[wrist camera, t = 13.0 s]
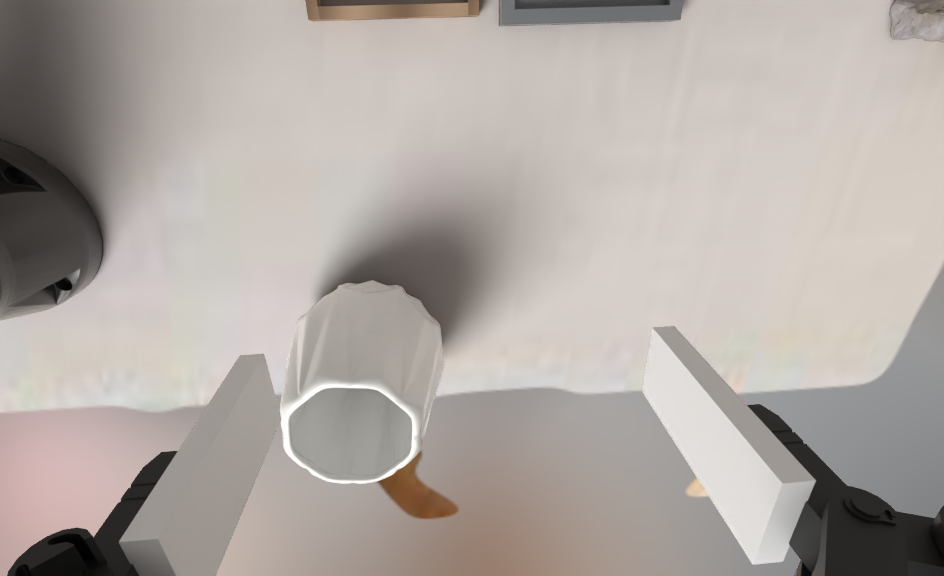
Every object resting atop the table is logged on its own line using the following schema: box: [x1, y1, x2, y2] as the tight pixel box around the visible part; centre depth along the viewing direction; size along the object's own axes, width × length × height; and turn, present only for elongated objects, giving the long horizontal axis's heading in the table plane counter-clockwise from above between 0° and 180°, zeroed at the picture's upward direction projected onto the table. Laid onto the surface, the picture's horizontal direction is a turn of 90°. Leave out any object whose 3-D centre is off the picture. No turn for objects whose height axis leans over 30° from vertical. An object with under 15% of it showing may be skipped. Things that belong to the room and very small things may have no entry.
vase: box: [280, 280, 444, 484], centre depth 41 cm, size 14×14×15 cm
